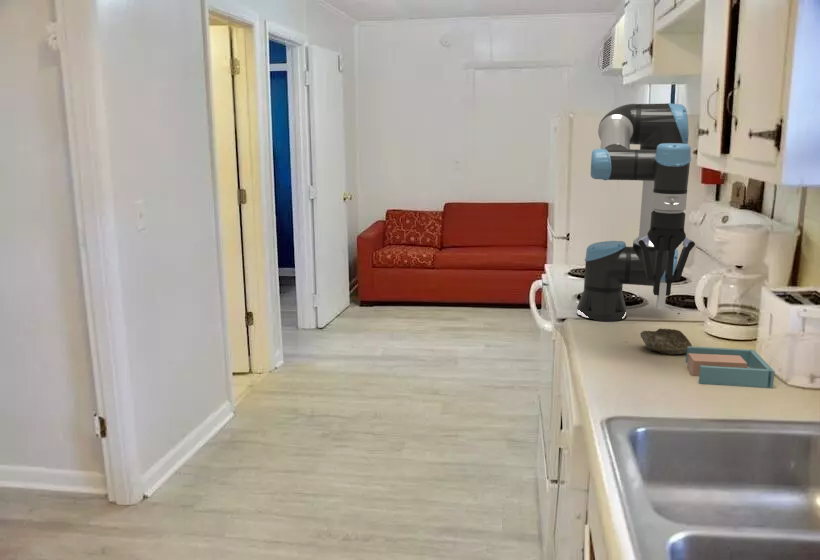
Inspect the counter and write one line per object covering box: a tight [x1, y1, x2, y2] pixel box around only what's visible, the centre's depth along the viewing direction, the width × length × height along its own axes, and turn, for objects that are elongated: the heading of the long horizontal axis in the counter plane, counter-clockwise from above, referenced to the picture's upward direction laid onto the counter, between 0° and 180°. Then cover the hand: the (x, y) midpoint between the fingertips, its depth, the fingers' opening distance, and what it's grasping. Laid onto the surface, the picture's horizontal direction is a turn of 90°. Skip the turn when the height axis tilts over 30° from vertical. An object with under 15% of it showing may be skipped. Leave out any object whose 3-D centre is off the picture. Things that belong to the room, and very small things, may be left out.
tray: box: [685, 345, 775, 389], centre depth 172 cm, size 16×16×4 cm
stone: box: [639, 328, 693, 356], centre depth 190 cm, size 13×8×8 cm
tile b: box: [686, 353, 720, 377], centre depth 173 cm, size 6×6×4 cm
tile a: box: [714, 354, 748, 368], centre depth 173 cm, size 6×6×4 cm
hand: (660, 308), depth 173 cm, fingers closed
